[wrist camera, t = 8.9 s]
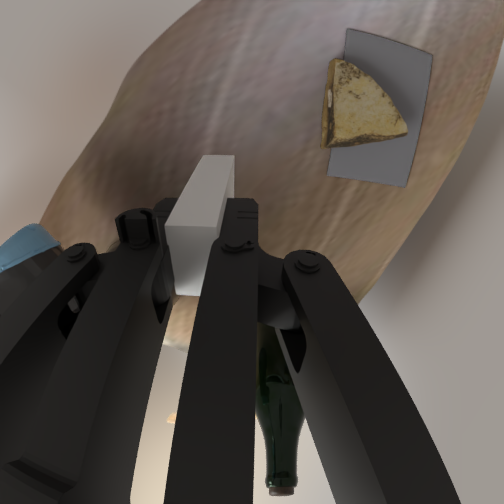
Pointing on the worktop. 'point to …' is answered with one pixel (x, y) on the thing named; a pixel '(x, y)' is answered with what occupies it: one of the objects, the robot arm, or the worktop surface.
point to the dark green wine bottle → (277, 413)
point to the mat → (404, 99)
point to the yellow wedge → (357, 109)
